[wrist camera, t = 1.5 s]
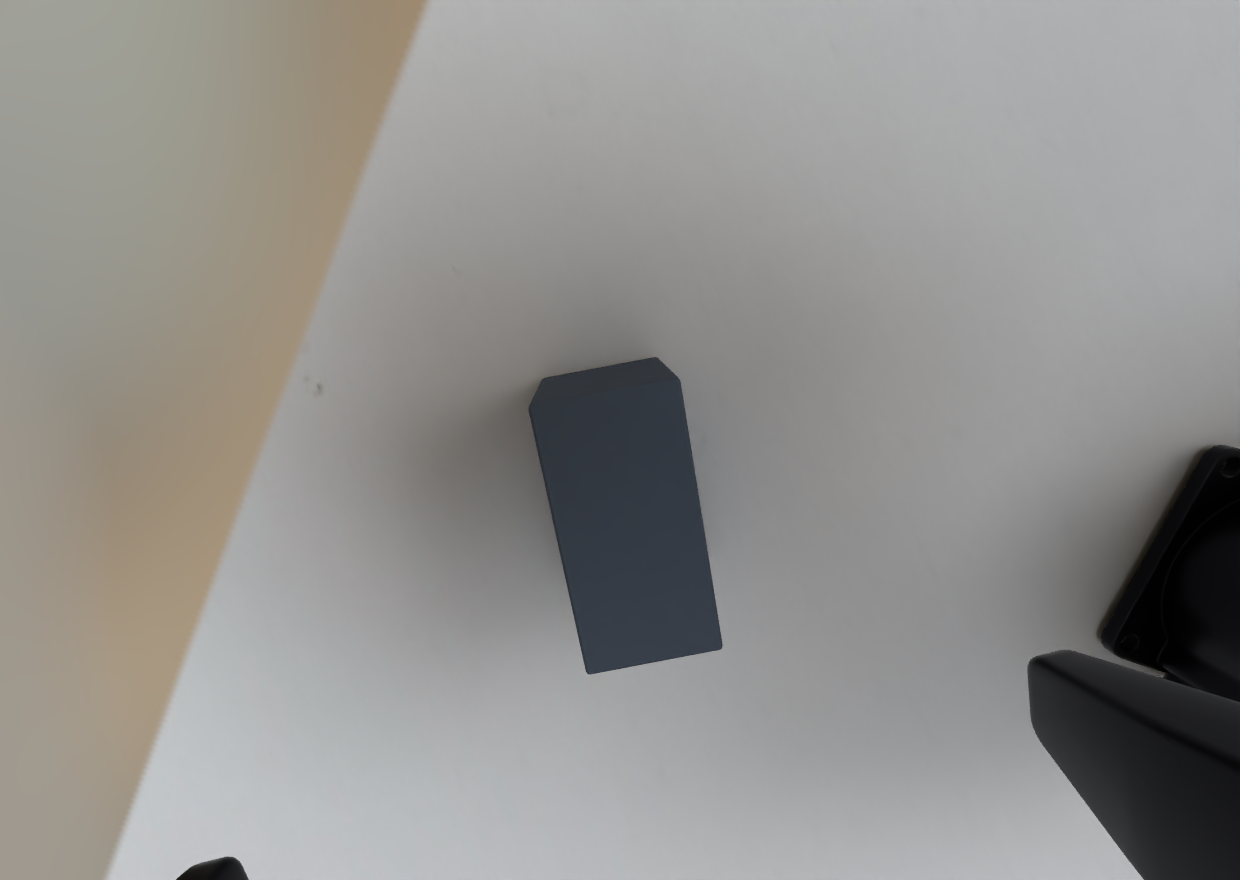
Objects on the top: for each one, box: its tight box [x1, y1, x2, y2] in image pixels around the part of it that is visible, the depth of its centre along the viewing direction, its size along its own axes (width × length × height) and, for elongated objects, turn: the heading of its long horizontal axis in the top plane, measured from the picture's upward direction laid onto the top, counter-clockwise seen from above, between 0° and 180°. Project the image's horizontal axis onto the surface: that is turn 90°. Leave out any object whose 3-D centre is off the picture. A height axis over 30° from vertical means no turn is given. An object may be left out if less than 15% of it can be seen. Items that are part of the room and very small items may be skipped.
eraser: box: [529, 357, 723, 674], centre depth 15 cm, size 6×3×4 cm, turn 10°
